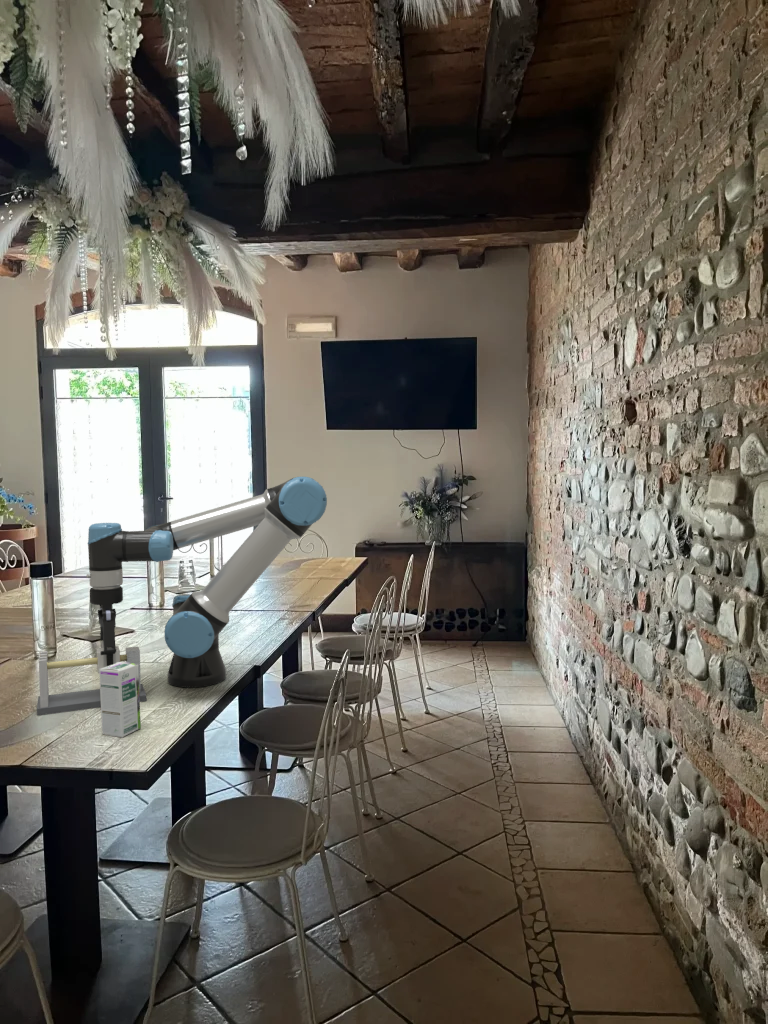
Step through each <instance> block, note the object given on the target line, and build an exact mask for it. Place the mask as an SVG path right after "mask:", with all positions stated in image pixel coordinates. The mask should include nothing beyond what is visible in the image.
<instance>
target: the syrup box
mask: <svg viewBox="0 0 768 1024" xmlns="http://www.w3.org/2000/svg"><path fill="white" fill-rule="evenodd" d="M98 674H99V689H100V699H101V707H100V716H101V717H100V718H101V733H102V735H106V736H109V737H116V738H124V737H126V736H128V735H130V734H132V733H135V732H136V731H137V730H140V729H141V727H142V725H141V721H142V720H141V702H140V697H139V672H138V664H135V663H129V662H126V661H121V662H117V663H116V664H113V665H110V666H107V667H104V668H101V669H99V673H98Z"/></svg>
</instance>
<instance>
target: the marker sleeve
mask: <svg viewBox="0 0 768 1024" xmlns="http://www.w3.org/2000/svg"><path fill="white" fill-rule="evenodd" d="M115 647H116V663H117V662H120V655H121V650H120V647H119V646H118V645H115ZM101 651H104V647H103V648H101V647H98V648H97V647H96V657H98V664H96V667H97V668H96V669H97V673H98V674H99V669H101V668H104V665H103V655H101Z"/></svg>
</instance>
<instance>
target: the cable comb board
mask: <svg viewBox="0 0 768 1024" xmlns="http://www.w3.org/2000/svg"><path fill="white" fill-rule="evenodd" d="M139 647H140V646H129V647H125V654H120V662H129V663H135V664H138V672H139V697H140V703H142V702H143V703H144V702H147V693H146V691H145V687H144V684H143V683H141V649H140V648H139ZM48 660H49V659H48V651H47V650H45V651H40V652H39V657H38V674H39V675H38V678H39V680H38V681H39V695H38V696H37V697H38V698H37V703H36V704H37V705H36V716H43V715H52V714H59V713H66V712H67V713H68V712H72V711H73V712H74V711H75V712H76V711H80V710H81V711H82V710H88V709H95V708H96V709H97V708H101V699H100V688H97V689H86V690H80V691H71V692H63V693H55V694H54V693H53V694H49V693H50V692H49V691H50V690H49V670H53V669H54V670H56V669H63V668H74V667H82V666H91V665H97V664H98V657H97V656H96V657H88V658H79V659H69V660H60V661H58V660H57V661H51V662H48Z"/></svg>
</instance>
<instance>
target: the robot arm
mask: <svg viewBox="0 0 768 1024" xmlns="http://www.w3.org/2000/svg"><path fill="white" fill-rule="evenodd" d="M327 502H328V497H327V494H326V491H325V488H323V486H322V485H321V484H320V483H319V481H317V480H315V479H314V478H311V477H309V476H296V477H292V478H290V479H288V480H286V481H284V482H282V483H280V484H278V485H275V486H273V487H269V488H265V490H264V492H263V493H262V494H259V495H255V496H252V497H249V498H246V499H242V500H239V501H236V502H232V503H229V504H224V505H223V506H222V505H221V506H218V507H215V508H212V509H209V510H204V511H201V512H199V513H195V514H191V515H188V516H185V517H181V518H177V519H173V520H171V521H169V522H163V523H161V524H155V525H151V526H149V527H148V528H146V529H145V530H133V531H129V530H123V529H122V526H121V523H118V522H99V523H92V524H91V525H90V526H89V527H88V533H87V534H88V536H87V539H88V540H87V548H88V570H89V573H87V574H86V579H89V586H90V587H91V588H90V589H89V603H90V604H92V605H93V606H99V609H98V610H97V616H98V623H99V627H100V628H99V629H100V630H99V631H100V633H99V636H100V640H101V641H100V648H103V647H104V651H101V655H103V665H104V667H107V666H110V665H113V664H116V647H115V646H116V634H115V633H116V631H115V628H116V624H117V623H116V618H117V611H116V608H113V605H114V604H116V605H117V604H119V603H122V602H123V600H124V591H123V589H124V588H123V587H122V586H121V585H123V583H124V579H123V577H124V576H123V563H124V562H125V563H129V562H130V563H131V562H155V563H159V562H165V561H170V560H171V559H172V558H173V555H174V551H176V550H178V549H182V548H185V547H189V546H192V545H197V544H199V543H202V542H206V541H210V540H212V539H215V538H219V537H222V536H225V535H229V534H232V533H235V532H239V531H243V530H246V529H250V528H252V527H255V529H254V530H253V531H252V532H251V533H250V534H249V536H248V537H247V538H246V539H245V540H244V541H243V543H242V544H241V545H240V546H239V547H238V549H237V550H236V551H235V552H234V553H233V554H232V556H231V557H229V559H227V561H226V562H225V563H224V564H223V566H222V567H221V568H220V570H218V572H217V573H216V574H215V575H214V576H213V578H211V580H210V581H209V582H208V583H207V584H206V586H205V587H204V588H203V589H202V590H199V591H193V592H192V593H191V594H179V595H175V596H174V597H173V600H172V605H171V606H172V615H171V617H170V618H169V619H168V620H167V622H166V624H165V625H164V626H165V627H164V641H165V644H166V646H167V647H168V649H169V650H170V651H171V652H172V653H173V654H172V657H171V662H170V664H169V668H168V671H167V683H168V684H169V685H171V686H173V687H178V688H179V687H180V688H202V687H208V686H212V685H215V684H219V683H221V682H224V681H225V680H226V678H227V668H226V666H225V663H224V660H223V657H222V654H221V651H220V646H219V645H220V641H219V639H220V638H219V637H220V636H219V634H220V633H221V632H222V631H223V629H224V628H226V626H227V625H228V624H229V622H230V612H231V611H232V610H233V608H235V606H236V605H237V604H238V603H239V601H240V600H241V599H242V598H243V597H244V596H245V594H246V593H247V592H248V591H249V590H250V588H251V587H252V586H253V585H254V583H256V581H257V580H258V579H259V578H260V577H261V576H262V575H263V574H264V572H265V571H266V570H267V568H268V567H270V565H271V564H272V563H273V561H275V559H276V558H277V557H278V556H279V554H281V552H282V551H283V550H284V549H285V548H286V546H287V545H288V544H289V543H290V542H291V540H297V539H301V538H302V537H303V536H304V534H305V533H306V532H307V531H308V530H309V529H310V528H311V526H312V525H313V524H315V523H317V522H319V520H320V519H321V518H322V517H323V515H324V514H325V511H326V508H327V504H328V503H327ZM256 526H257V527H256Z"/></svg>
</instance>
